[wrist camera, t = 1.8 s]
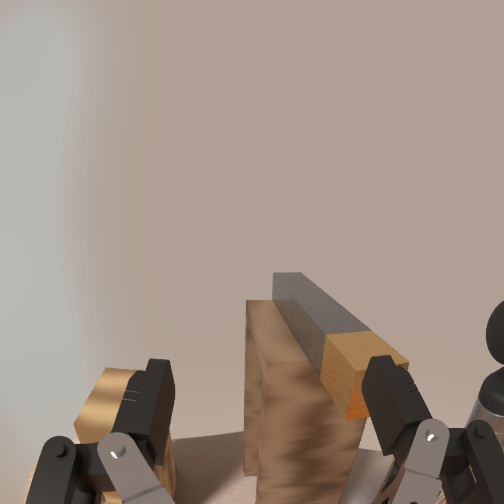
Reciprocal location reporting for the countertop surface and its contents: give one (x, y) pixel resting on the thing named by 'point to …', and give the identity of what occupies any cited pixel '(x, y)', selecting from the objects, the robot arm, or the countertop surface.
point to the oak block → (102, 420)
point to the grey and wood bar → (330, 340)
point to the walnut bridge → (291, 418)
